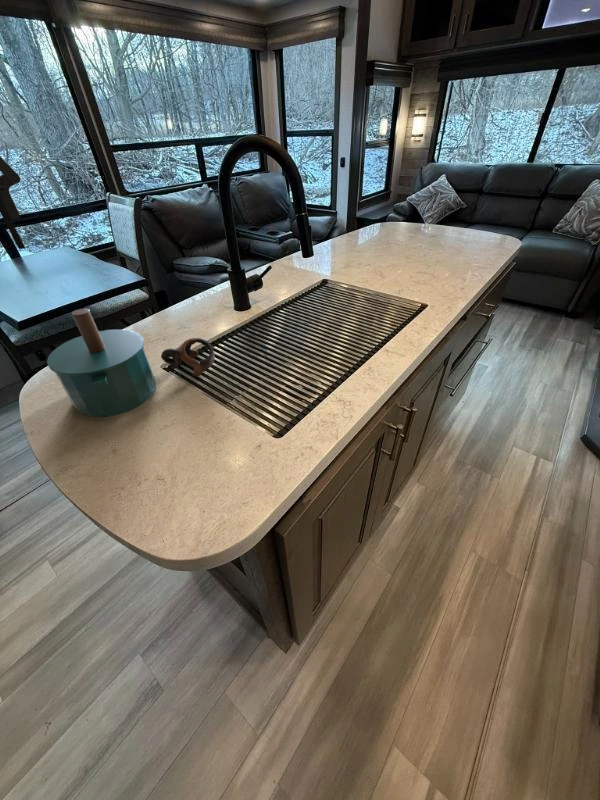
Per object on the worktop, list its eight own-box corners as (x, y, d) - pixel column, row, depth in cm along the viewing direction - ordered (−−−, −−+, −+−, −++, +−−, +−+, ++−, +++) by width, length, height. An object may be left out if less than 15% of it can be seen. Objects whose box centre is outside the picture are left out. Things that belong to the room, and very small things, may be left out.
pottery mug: (207, 353, 87) (213, 333, 81) (214, 384, 84) (220, 365, 77) (158, 354, 82) (160, 332, 75) (163, 386, 78) (165, 367, 71)
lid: (43, 387, 59) (15, 342, 53) (55, 344, 71) (33, 303, 66) (148, 364, 64) (132, 321, 58) (142, 327, 77) (128, 289, 71)
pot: (70, 435, 63) (43, 391, 57) (78, 376, 79) (57, 336, 73) (161, 411, 69) (145, 368, 62) (151, 360, 84) (138, 322, 78)
